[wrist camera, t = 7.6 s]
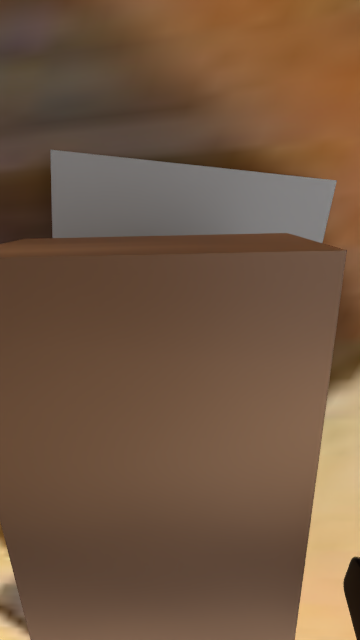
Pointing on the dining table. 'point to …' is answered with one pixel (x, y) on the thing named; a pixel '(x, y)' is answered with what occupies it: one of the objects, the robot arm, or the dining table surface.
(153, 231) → the grey base with posts
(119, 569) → the shelf board
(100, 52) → the dining table surface
